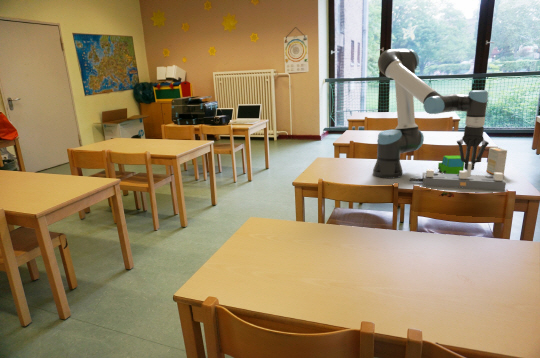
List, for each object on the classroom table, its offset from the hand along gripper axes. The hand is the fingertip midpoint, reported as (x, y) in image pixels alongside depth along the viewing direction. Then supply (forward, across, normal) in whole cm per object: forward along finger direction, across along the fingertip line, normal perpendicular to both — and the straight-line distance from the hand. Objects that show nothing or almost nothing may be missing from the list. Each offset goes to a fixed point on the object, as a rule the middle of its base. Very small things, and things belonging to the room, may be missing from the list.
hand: (468, 176), depth 170 cm
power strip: (+5, -5, +2) cm, 8 cm away
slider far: (+1, +12, 0) cm, 12 cm away
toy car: (+6, -5, +22) cm, 24 cm away
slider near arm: (+1, -16, 0) cm, 16 cm away
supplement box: (+6, +17, +27) cm, 33 cm away
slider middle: (+1, -2, 0) cm, 3 cm away
